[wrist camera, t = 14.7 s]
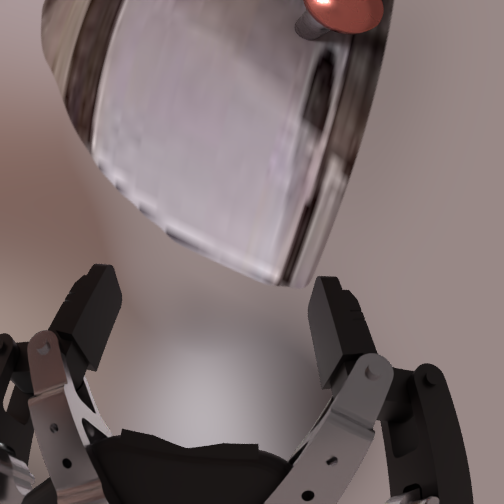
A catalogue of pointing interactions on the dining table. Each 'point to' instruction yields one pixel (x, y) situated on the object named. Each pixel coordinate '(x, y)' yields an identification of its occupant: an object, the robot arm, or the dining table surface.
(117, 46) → the dining table surface
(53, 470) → the robot arm
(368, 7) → the copper-capped metal peg
